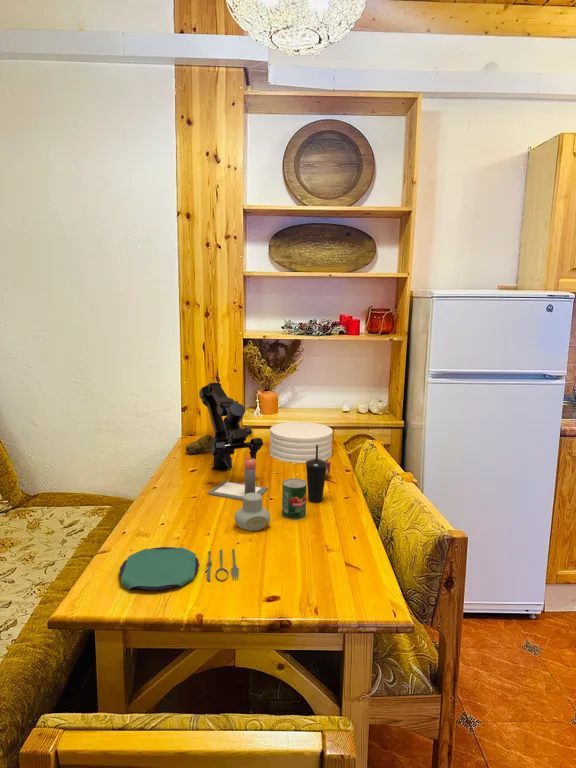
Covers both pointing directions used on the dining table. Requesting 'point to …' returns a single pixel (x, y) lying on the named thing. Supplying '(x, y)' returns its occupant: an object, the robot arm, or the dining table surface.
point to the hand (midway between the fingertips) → (242, 467)
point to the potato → (200, 445)
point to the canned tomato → (294, 499)
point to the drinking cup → (316, 478)
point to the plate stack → (300, 441)
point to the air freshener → (252, 513)
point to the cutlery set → (165, 568)
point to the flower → (327, 468)
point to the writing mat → (233, 490)
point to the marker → (250, 475)
